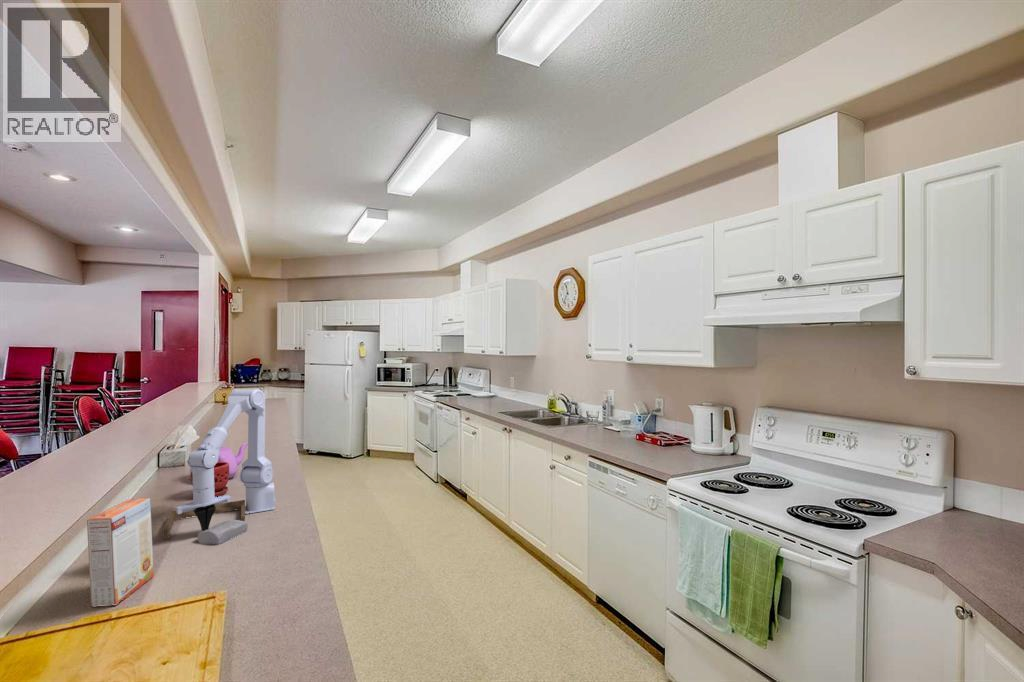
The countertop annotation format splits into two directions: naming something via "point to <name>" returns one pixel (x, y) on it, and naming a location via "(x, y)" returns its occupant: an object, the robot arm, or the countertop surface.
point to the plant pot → (219, 478)
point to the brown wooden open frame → (174, 515)
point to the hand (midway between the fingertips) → (204, 530)
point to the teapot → (232, 458)
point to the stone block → (222, 532)
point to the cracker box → (120, 551)
